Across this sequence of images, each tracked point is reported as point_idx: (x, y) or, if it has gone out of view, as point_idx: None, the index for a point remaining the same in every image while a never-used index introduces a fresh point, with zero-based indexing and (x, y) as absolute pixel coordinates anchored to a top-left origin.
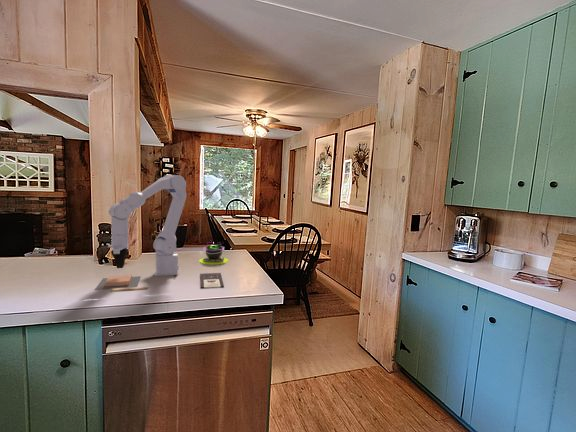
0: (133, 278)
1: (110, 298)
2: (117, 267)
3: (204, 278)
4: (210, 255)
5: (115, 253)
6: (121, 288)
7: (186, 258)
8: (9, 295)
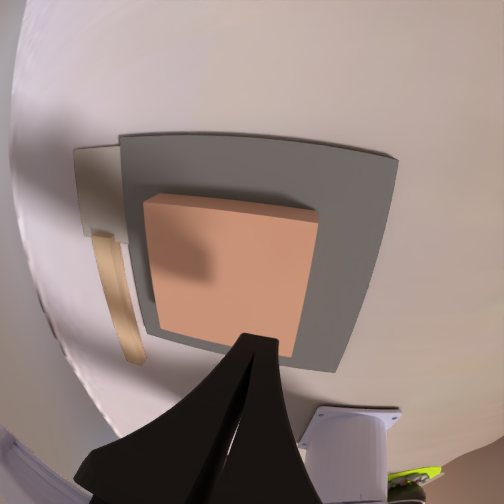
0: (305, 343)
1: (55, 231)
2: (237, 341)
3: (225, 461)
4: (389, 497)
5: (2, 428)
6: (111, 279)
7: (476, 445)
8: None
